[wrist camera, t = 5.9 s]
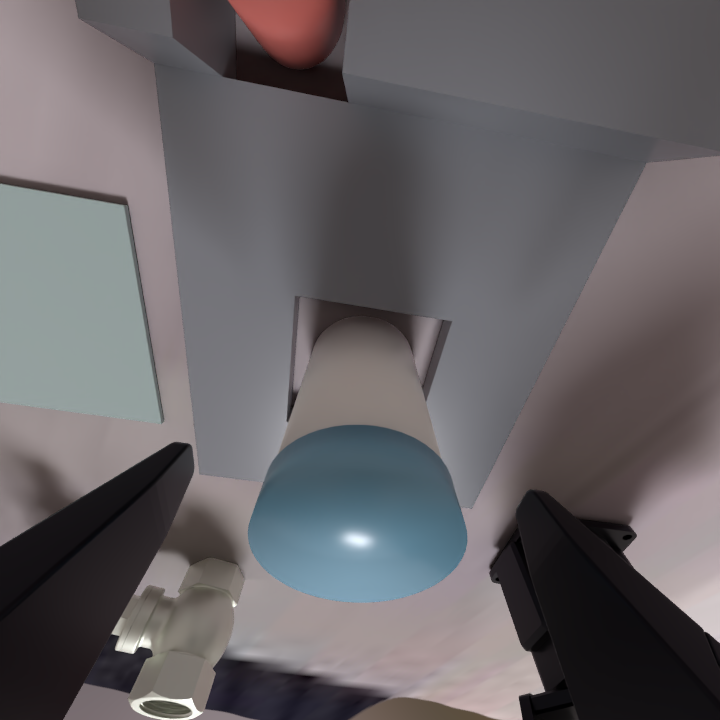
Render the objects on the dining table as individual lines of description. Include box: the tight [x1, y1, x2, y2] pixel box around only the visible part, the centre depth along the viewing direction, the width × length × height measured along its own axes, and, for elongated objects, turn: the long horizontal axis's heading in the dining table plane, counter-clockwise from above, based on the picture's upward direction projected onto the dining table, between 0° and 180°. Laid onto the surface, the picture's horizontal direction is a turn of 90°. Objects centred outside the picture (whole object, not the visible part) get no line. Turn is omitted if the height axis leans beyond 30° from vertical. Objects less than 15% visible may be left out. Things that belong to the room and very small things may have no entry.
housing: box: [75, 0, 720, 509], centre depth 11 cm, size 14×19×4 cm
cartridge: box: [248, 316, 467, 602], centre depth 10 cm, size 5×5×8 cm
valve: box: [111, 558, 244, 720], centre depth 18 cm, size 7×7×12 cm
